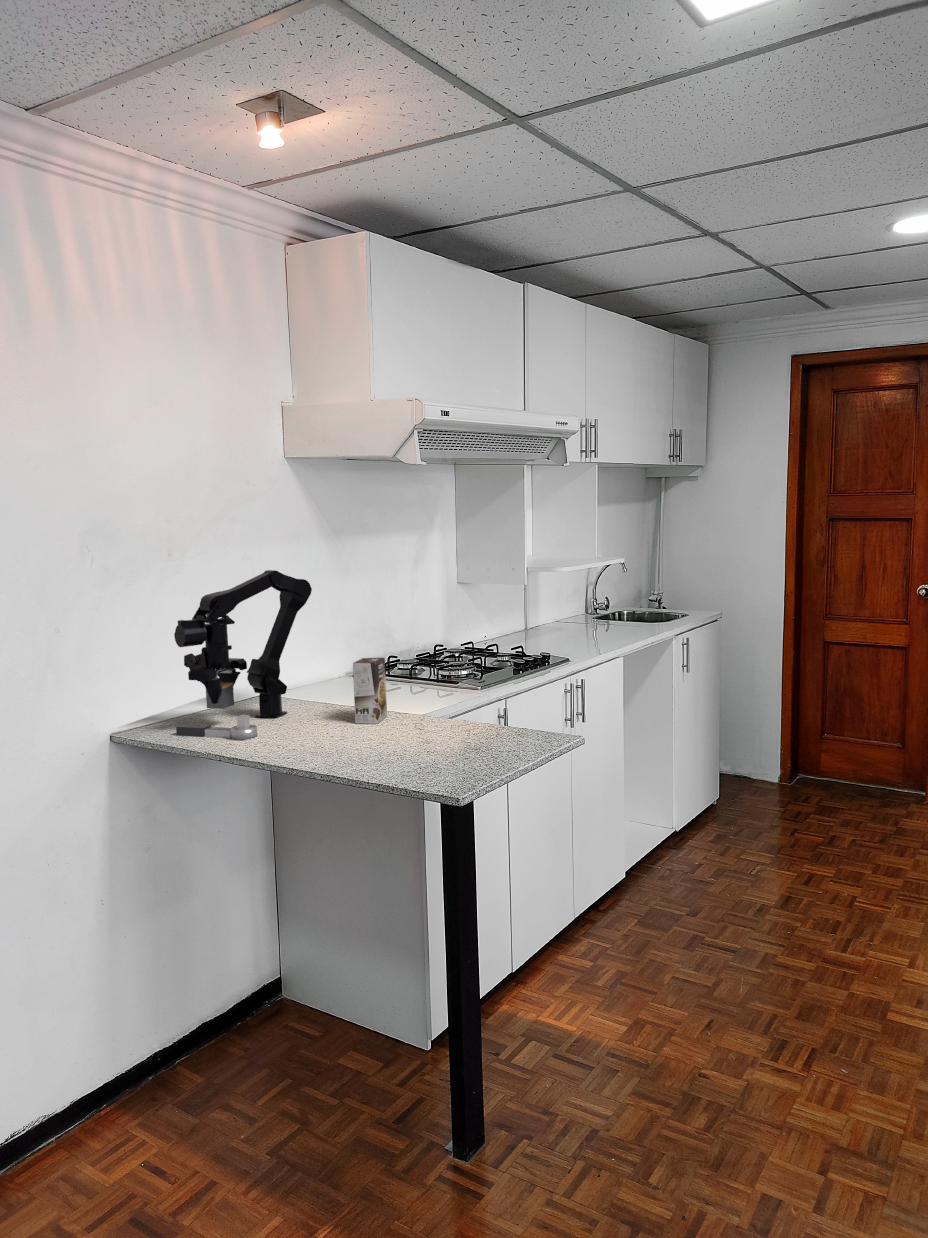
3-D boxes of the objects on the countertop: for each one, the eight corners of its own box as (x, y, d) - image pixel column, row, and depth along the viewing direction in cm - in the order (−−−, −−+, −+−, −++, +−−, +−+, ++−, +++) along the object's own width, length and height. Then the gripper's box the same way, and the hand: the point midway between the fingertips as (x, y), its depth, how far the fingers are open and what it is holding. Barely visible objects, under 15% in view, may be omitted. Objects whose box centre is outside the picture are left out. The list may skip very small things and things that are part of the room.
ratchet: (188, 730, 239) (186, 710, 238) (262, 734, 232) (260, 713, 231) (173, 736, 233) (171, 715, 232) (248, 741, 226) (247, 719, 225)
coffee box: (378, 724, 239) (375, 662, 237) (354, 724, 240) (351, 662, 239) (388, 716, 248) (385, 656, 246) (365, 716, 249) (362, 657, 247)
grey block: (217, 704, 246) (216, 681, 245) (234, 704, 245) (232, 682, 244) (206, 708, 241) (205, 685, 241) (223, 708, 240) (222, 685, 239)
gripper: (210, 637, 252) (214, 693, 254) (168, 647, 235) (172, 707, 237) (246, 637, 249) (249, 695, 251) (206, 648, 231) (210, 709, 233)
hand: (220, 701), depth 243 cm, fingers closed on grey block, 5 cm apart
